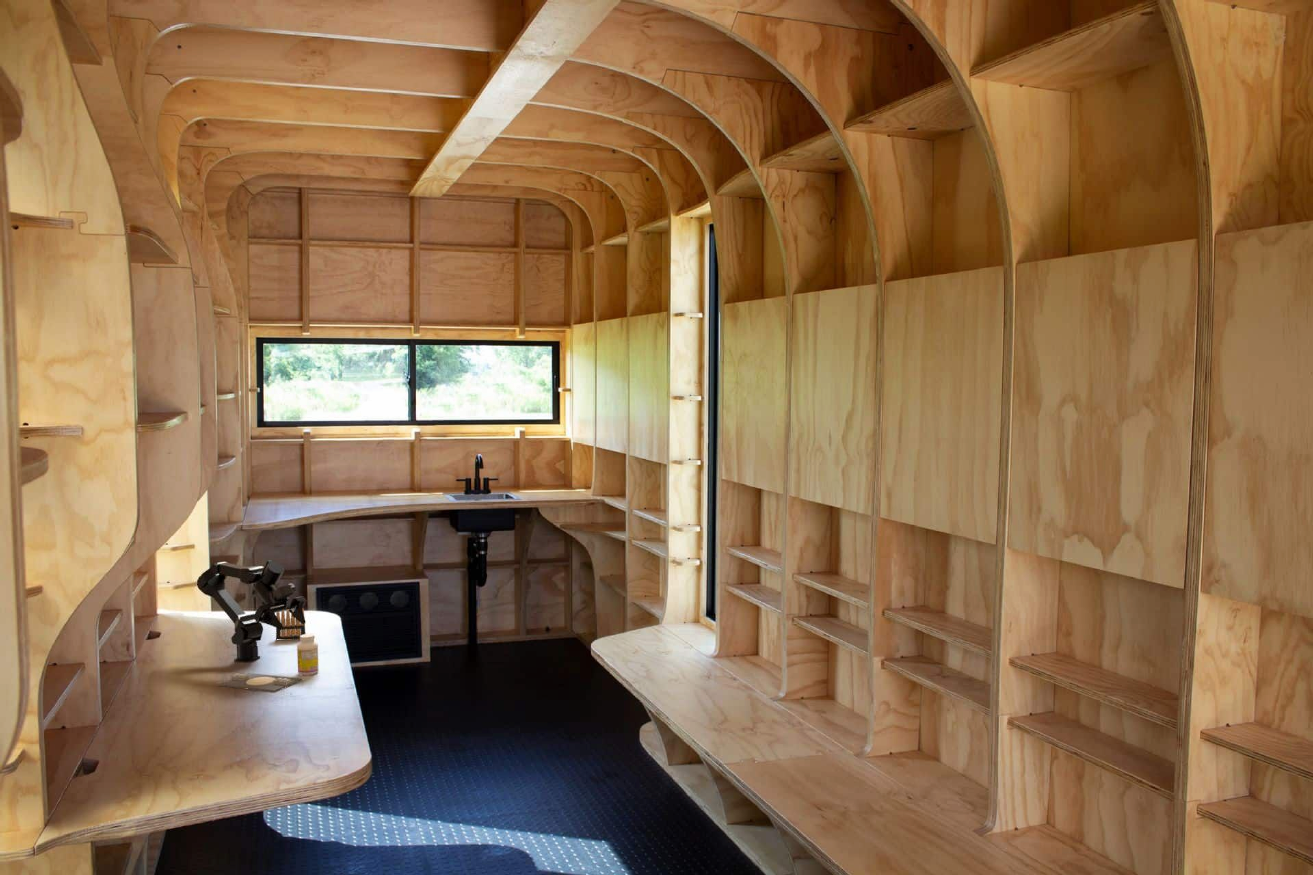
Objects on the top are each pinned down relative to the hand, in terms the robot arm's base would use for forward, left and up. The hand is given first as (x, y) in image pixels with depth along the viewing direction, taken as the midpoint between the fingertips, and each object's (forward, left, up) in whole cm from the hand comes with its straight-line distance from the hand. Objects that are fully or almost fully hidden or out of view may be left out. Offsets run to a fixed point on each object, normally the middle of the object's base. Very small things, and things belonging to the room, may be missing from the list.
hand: (293, 626), depth 377 cm
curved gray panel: (+1, -18, -15) cm, 23 cm away
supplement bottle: (+8, -3, -15) cm, 17 cm away
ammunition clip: (-29, +35, -15) cm, 48 cm away
